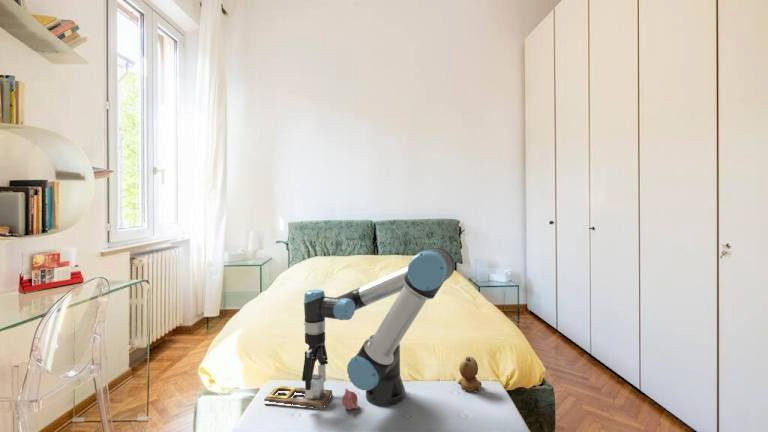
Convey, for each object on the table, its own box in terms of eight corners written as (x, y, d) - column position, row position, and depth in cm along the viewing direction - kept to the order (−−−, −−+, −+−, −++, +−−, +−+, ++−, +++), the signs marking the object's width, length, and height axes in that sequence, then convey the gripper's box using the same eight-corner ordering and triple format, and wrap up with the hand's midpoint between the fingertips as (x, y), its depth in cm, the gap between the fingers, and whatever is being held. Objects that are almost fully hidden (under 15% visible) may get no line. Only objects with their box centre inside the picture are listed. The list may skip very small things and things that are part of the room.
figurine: (485, 386, 140) (482, 353, 137) (480, 399, 134) (476, 365, 131) (462, 380, 146) (458, 349, 143) (455, 392, 139) (451, 359, 136)
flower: (335, 395, 125) (348, 385, 125) (340, 393, 132) (352, 384, 133) (347, 416, 122) (360, 406, 122) (351, 413, 129) (364, 403, 130)
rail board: (332, 395, 136) (332, 389, 136) (322, 409, 126) (322, 402, 126) (277, 390, 140) (277, 384, 140) (264, 404, 131) (264, 397, 131)
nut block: (324, 398, 134) (323, 374, 134) (319, 405, 129) (319, 379, 129) (313, 397, 135) (312, 373, 135) (308, 403, 130) (307, 378, 130)
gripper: (317, 321, 144) (318, 374, 144) (291, 342, 121) (292, 405, 121) (335, 322, 143) (336, 375, 143) (311, 343, 119) (312, 407, 119)
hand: (316, 389), depth 132 cm, fingers open, 12 cm apart
